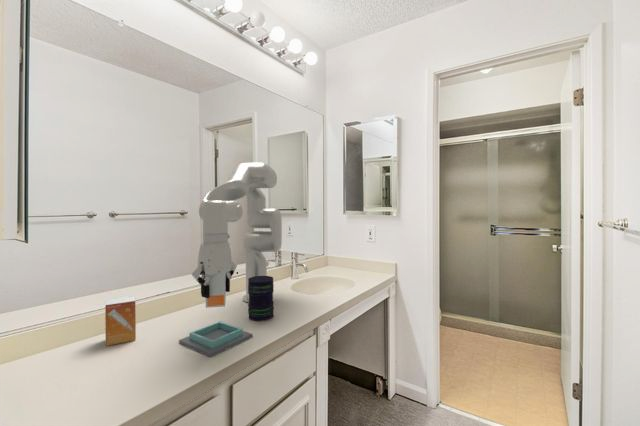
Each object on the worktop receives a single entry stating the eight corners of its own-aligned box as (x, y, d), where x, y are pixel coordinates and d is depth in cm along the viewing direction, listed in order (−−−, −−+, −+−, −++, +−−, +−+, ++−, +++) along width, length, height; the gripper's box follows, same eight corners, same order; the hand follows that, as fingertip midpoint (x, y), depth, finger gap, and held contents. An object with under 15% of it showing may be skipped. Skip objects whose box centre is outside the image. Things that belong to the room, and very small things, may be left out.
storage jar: (253, 323, 111) (253, 283, 110) (244, 315, 119) (244, 277, 119) (278, 317, 116) (277, 279, 116) (267, 310, 124) (267, 274, 124)
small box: (105, 347, 92) (104, 305, 92) (106, 339, 98) (105, 299, 97) (136, 340, 97) (135, 300, 96) (135, 333, 102) (134, 295, 102)
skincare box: (205, 308, 94) (205, 270, 93) (206, 304, 98) (206, 267, 97) (225, 306, 95) (225, 269, 95) (226, 302, 99) (225, 266, 99)
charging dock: (221, 326, 108) (221, 318, 108) (252, 336, 99) (252, 327, 99) (179, 343, 95) (178, 333, 94) (210, 357, 86) (210, 346, 86)
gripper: (229, 236, 105) (230, 286, 106) (183, 240, 91) (184, 299, 91) (244, 237, 101) (244, 289, 102) (198, 242, 87) (198, 303, 87)
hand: (216, 293), depth 96 cm, fingers closed on skincare box, 7 cm apart
